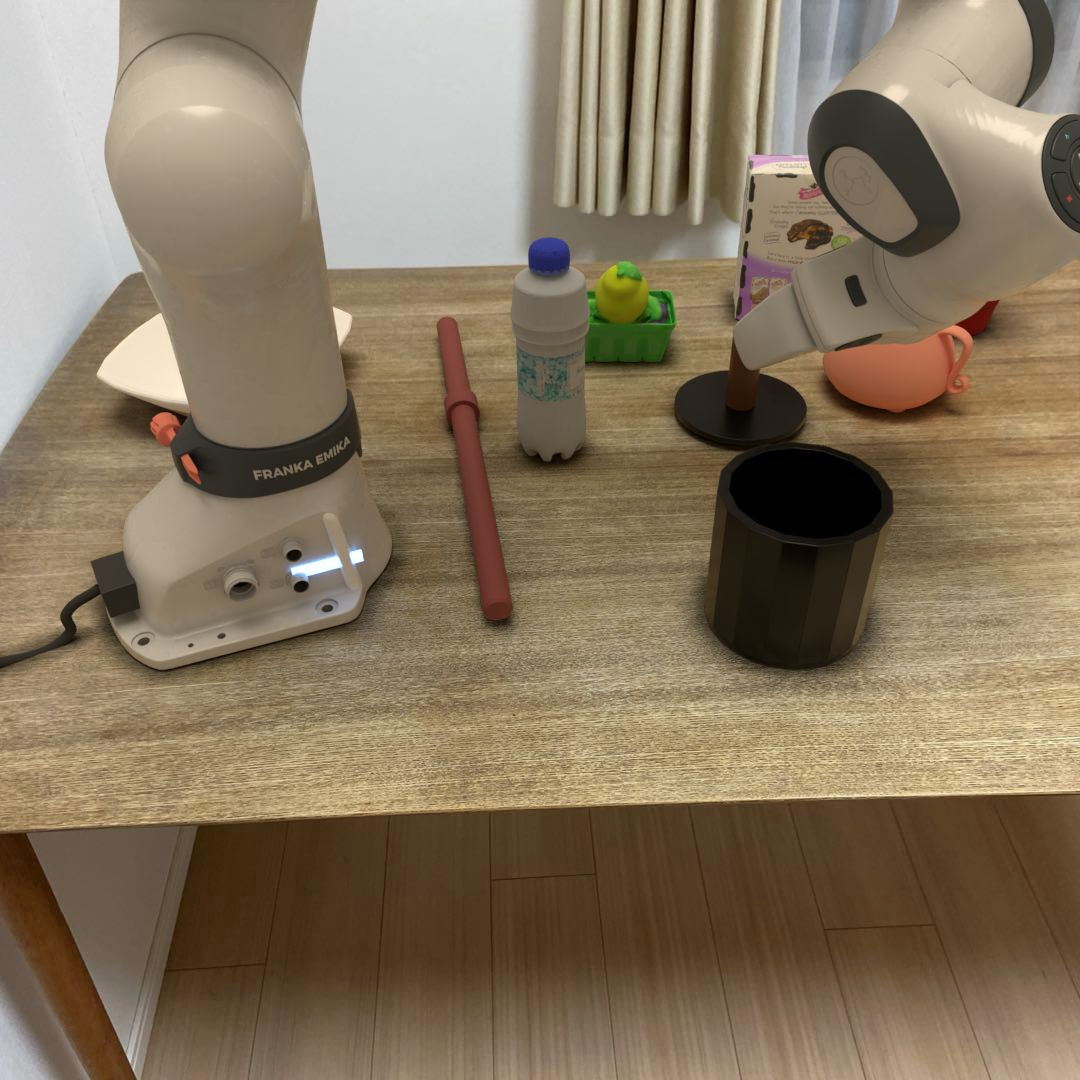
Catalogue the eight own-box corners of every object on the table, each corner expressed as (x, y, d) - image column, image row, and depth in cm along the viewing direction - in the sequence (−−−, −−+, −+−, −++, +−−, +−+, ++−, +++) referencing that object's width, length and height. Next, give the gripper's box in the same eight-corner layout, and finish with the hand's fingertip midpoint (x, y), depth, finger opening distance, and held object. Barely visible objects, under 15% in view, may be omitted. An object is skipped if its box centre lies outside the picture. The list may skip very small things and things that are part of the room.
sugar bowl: (852, 345, 107) (871, 253, 101) (984, 388, 100) (1013, 292, 94) (796, 394, 100) (812, 298, 93) (933, 444, 93) (961, 344, 86)
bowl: (82, 428, 98) (64, 381, 95) (207, 325, 114) (196, 281, 110) (280, 467, 92) (269, 418, 89) (383, 353, 108) (377, 308, 105)
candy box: (855, 299, 115) (883, 152, 105) (862, 324, 111) (892, 173, 100) (731, 296, 116) (747, 150, 106) (734, 321, 112) (750, 171, 101)
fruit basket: (668, 332, 110) (675, 232, 103) (675, 374, 103) (683, 270, 96) (563, 333, 111) (563, 233, 103) (563, 375, 104) (562, 271, 97)
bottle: (581, 472, 91) (583, 260, 78) (508, 464, 92) (498, 254, 79) (593, 430, 96) (597, 225, 83) (524, 424, 97) (517, 220, 84)
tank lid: (730, 466, 91) (740, 376, 85) (648, 404, 99) (652, 318, 93) (832, 424, 96) (849, 336, 90) (746, 368, 104) (756, 284, 98)
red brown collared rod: (433, 339, 110) (430, 313, 108) (462, 336, 110) (460, 310, 108) (478, 628, 76) (475, 597, 74) (520, 623, 76) (518, 592, 74)
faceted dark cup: (775, 693, 70) (799, 568, 63) (673, 596, 78) (684, 475, 71) (896, 629, 75) (931, 505, 68) (788, 544, 83) (809, 425, 75)
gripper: (999, 209, 77) (885, 280, 90) (781, 268, 70) (691, 335, 83) (1029, 287, 77) (910, 346, 90) (813, 353, 70) (718, 408, 83)
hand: (803, 342), depth 86 cm, fingers open, 8 cm apart
